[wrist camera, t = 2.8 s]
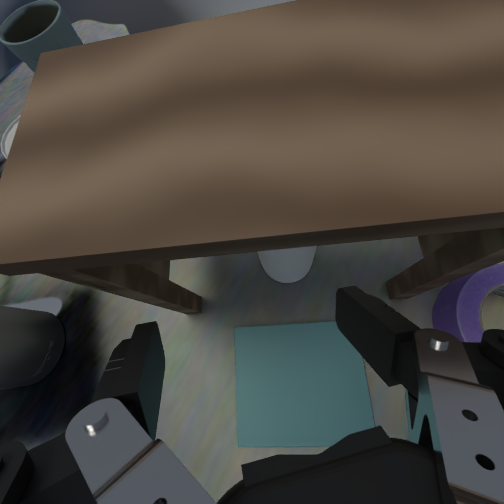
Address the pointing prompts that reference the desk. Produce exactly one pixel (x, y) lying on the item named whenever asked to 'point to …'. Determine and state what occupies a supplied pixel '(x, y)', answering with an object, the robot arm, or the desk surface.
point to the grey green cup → (38, 31)
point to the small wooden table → (263, 144)
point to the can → (287, 263)
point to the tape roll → (467, 303)
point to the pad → (298, 386)
